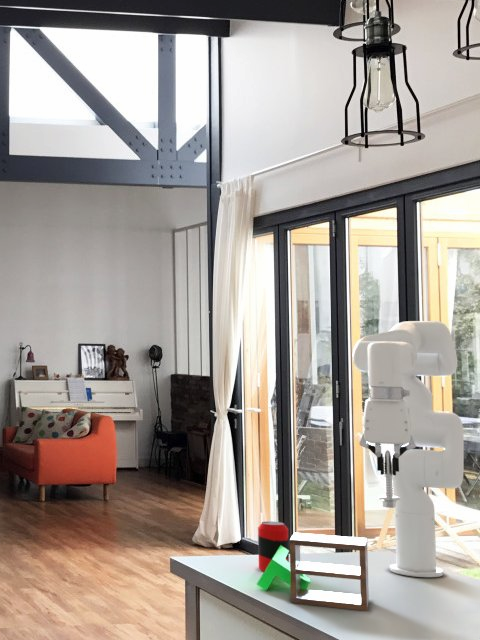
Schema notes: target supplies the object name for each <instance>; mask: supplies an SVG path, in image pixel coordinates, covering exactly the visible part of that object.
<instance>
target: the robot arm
mask: <svg viewBox="0 0 480 640" xmlns="http://www.w3.org/2000/svg"><path fill="white" fill-rule="evenodd" d="M455 347H456V346H455V343H454V339H453V336H452V333H451V332H450V329H449V327H448V326H447V325H446V324H445V323H443V322H442V321H439V320H408V321H400V322H398V323H396V324H395V325H394V326H392V328H391V329H390V330H387V331H382V332H378V333H374V334H369V335H365V336H363V337H361V338H359V340H357V342H356V343H355V345H354V347H353V350H352V362H353V365H354V367H355V368H356V370H358V371H360V372H362V373H367V376H368V377H367V379H368V380H367V381H368V399H365V402H364V408H363V410H364V411H363V434H362V436H361V438H360V440H359V446H360V447H363V448H365V449H366V450H367V449H368V450H369V451H370V452H372V454H373V455H375V456H376V469H377V471H378V472H379V471H380V475H382V476H383V475H385V469H384V468H385V464H384V463H385V456H384V454H383V452H382V444H385V445H387V444H388V445H393V451H394V452H393V453H391V454H390V455H391V462H392V463H391V464H392V475H393V476H392V480H393V481H392V483H393V484H392V485H393V486H392V488H393V489H392V490H393V496H398V497H399V498H400V499H401V500H398V501H397V502H396V507H395V508H394V528H395V529H394V530H395V531H394V533H395V560H396V561H395V562H396V563H393V564H390V565H389V570H390V571H391V573H394V574H397V575H402V576H406V577H415V578H439V577H442V576H443V575H444V570H443V569H442V568H440V567H437V548H436V546H437V545H436V543H437V542H436V520H435V519H436V517H435V515H436V513H435V505H434V502H433V500H432V498H431V497H430V495H429V494H428V493H427V492H426V491H425V489H424V488H435V489H447V490H450V489H451V490H454V489H458V488H460V487H461V486H462V485H463V482H464V481H463V480H464V470H465V469H464V468H465V467H464V462H465V461H464V457H465V456H464V453H465V452H464V451H465V449H464V445H465V444H464V443H465V442H464V441H465V440H464V438H465V437H464V436H465V435H464V425H463V422H462V419H461V417H460V416H459V415H458V414H457V413H455V412H451V411H442V410H441V411H439V410H433V408H434V407H433V406H434V404H433V402H434V401H433V400H434V396H433V393H432V392H431V390H430V388H428V386H427V385H426V384H425V383H424V382H423V381H422V380H420V379H419V377H450V376H452V375H454V374H455V373H456V372H457V368H458V355H457V351H456V348H455ZM400 445H402V446H400ZM416 447H420V449H419V448H416ZM421 448H433V449H434V448H435V449H442V450H433V449H432V450H431V449H421Z"/></svg>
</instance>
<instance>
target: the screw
mask: <svg viewBox="0 0 480 640" xmlns="http://www.w3.org/2000/svg"><path fill="white" fill-rule="evenodd" d="M384 453H385V454H384V494H379V496H378V497H377V500H381V502H382V507H383V508H386V509H389V508H390V509H395V507H396V502H397V501H398V500H401V499H400V498H399V497H398V496H394V489H393V482H392V481H393V480H392V476H393V475H392V464H391V463H392V462H391V455H392V454H391V452H390V450H388V449H387V450H386V451H385V452H384Z"/></svg>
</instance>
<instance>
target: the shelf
mask: <svg viewBox="0 0 480 640" xmlns="http://www.w3.org/2000/svg"><path fill="white" fill-rule="evenodd" d="M301 547H313V548H323V549H324V548H325V549H336V550H347V551H348V550H349V551H358V552H359V566H358V565H357V566H355V565H347V564H346V565H345V564H334V563H324V562H323V563H322V562H311V561H301ZM368 553H369V552H368V538H367V537H356V536H341V535H327V534H318V533H317V534H315V533H306V532H305V533H301V532H294V533H293V534H292V535H291V537H290V539H289V563H290V579H291V585H290V603H291V604H296V605H297V604H298V605H307V606H318V607H325V608H326V607H329V608H336V609H346V610H353V611H354V610H355V611H363V612H364V611H365V612H368V608H369V602H370V595H369V594H370V593H369V588H370V587H369V560H368V559H369V555H368ZM301 574H304V575H307V576H314V577H326V578H327V577H328V578H335V579H336V578H337V579H348V580H358V581H359V583H360V594H355V593H345V592H335V591H324V590H314V589H301Z"/></svg>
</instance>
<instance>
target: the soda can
mask: <svg viewBox="0 0 480 640" xmlns="http://www.w3.org/2000/svg"><path fill="white" fill-rule="evenodd" d="M257 538H258V539H257V540H258V541H257V543H258V544H257V545H258V550H257V551H258V569H259V570H260V571H262V572H263V573H264V572H265V570H266V568H267V567H268V565H269V563H270V562H271V560H272V558H273V557H274V555H275V554H276V552H277V550H278V549H279V547H280V545H281V546H283V547H284V548H286V549H287V550H289V551H290V540H289V528H288V527H287V526H286V525H285V523H284V522H281V521H272V520H271V521H268V520H267V521H262V522H261V523H260V524H259V526H258V527H257ZM285 559H286V560H287V561H288V562H289V563H290V552H289V553H288V555H287V556H286V558H285Z"/></svg>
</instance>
